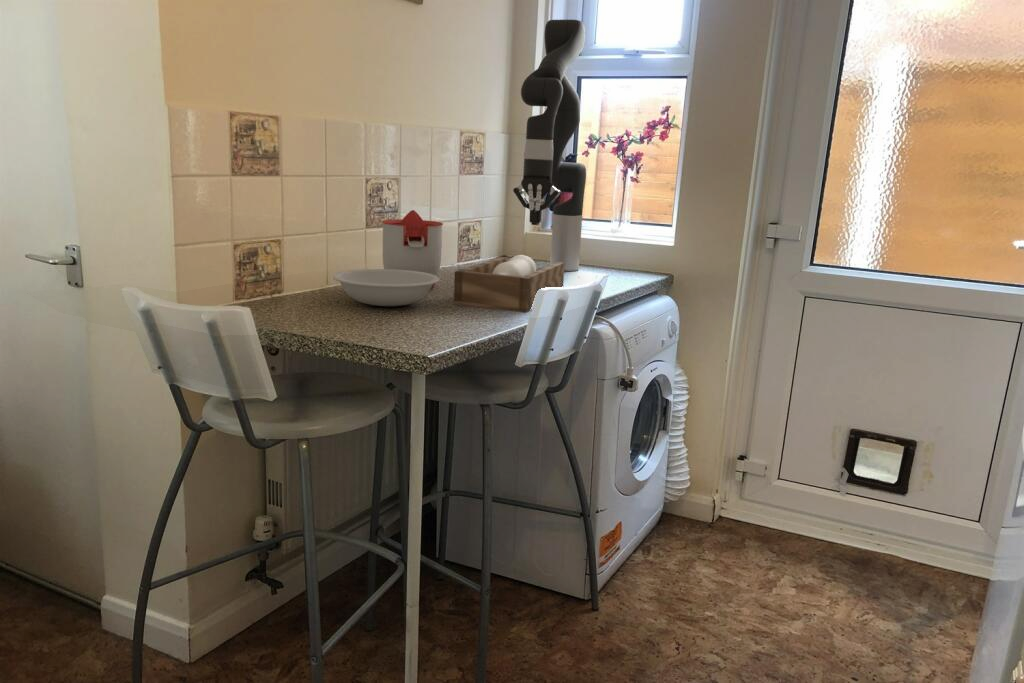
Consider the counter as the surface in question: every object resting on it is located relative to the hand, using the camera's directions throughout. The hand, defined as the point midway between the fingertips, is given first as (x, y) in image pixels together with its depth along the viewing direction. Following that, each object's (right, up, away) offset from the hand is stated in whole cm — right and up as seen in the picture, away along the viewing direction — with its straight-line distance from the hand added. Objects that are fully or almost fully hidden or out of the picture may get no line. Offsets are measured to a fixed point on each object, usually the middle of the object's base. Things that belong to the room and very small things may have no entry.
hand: (534, 224), depth 213 cm
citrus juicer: (-32, -17, -5) cm, 37 cm away
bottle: (-3, -11, +5) cm, 13 cm away
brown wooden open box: (-6, -20, -12) cm, 24 cm away
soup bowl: (-35, -23, -28) cm, 51 cm away
